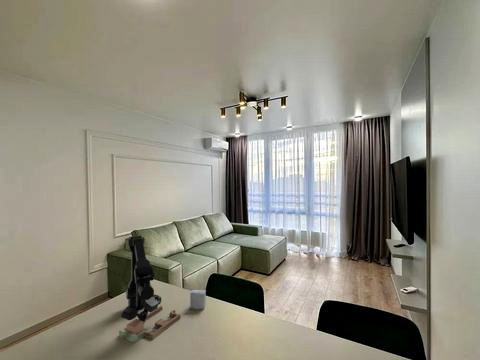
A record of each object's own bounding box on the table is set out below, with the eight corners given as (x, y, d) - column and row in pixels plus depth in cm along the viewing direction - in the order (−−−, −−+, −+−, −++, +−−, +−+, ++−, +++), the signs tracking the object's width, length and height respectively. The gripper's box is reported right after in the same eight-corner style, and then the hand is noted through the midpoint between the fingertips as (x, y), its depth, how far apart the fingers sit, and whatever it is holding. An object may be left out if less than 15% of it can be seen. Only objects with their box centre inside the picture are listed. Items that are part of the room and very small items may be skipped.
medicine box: (205, 305, 129) (206, 290, 130) (203, 309, 125) (204, 293, 125) (192, 304, 130) (192, 289, 131) (190, 308, 126) (190, 293, 126)
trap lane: (119, 335, 103) (119, 330, 103) (160, 309, 125) (160, 304, 125) (143, 346, 96) (143, 340, 96) (182, 316, 118) (183, 311, 118)
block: (126, 335, 103) (126, 324, 103) (135, 329, 107) (136, 318, 107) (134, 338, 101) (134, 327, 101) (143, 332, 105) (143, 321, 105)
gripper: (138, 304, 96) (138, 341, 96) (169, 286, 113) (169, 318, 113) (120, 298, 101) (120, 334, 101) (153, 282, 118) (153, 312, 118)
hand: (142, 324), depth 108 cm, fingers closed
